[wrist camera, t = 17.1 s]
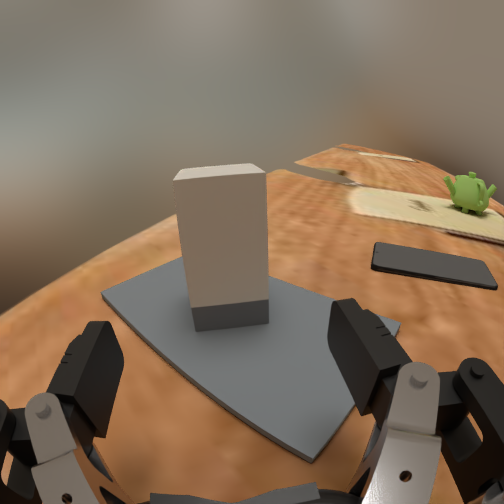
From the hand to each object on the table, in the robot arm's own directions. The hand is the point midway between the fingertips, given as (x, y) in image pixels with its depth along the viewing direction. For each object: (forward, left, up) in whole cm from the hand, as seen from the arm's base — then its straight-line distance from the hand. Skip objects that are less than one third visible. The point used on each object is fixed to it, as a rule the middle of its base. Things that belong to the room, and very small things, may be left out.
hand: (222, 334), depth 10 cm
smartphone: (-5, -25, -7) cm, 27 cm away
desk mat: (+7, -6, -6) cm, 11 cm away
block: (+7, -7, +4) cm, 11 cm away
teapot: (-9, -61, -7) cm, 62 cm away
